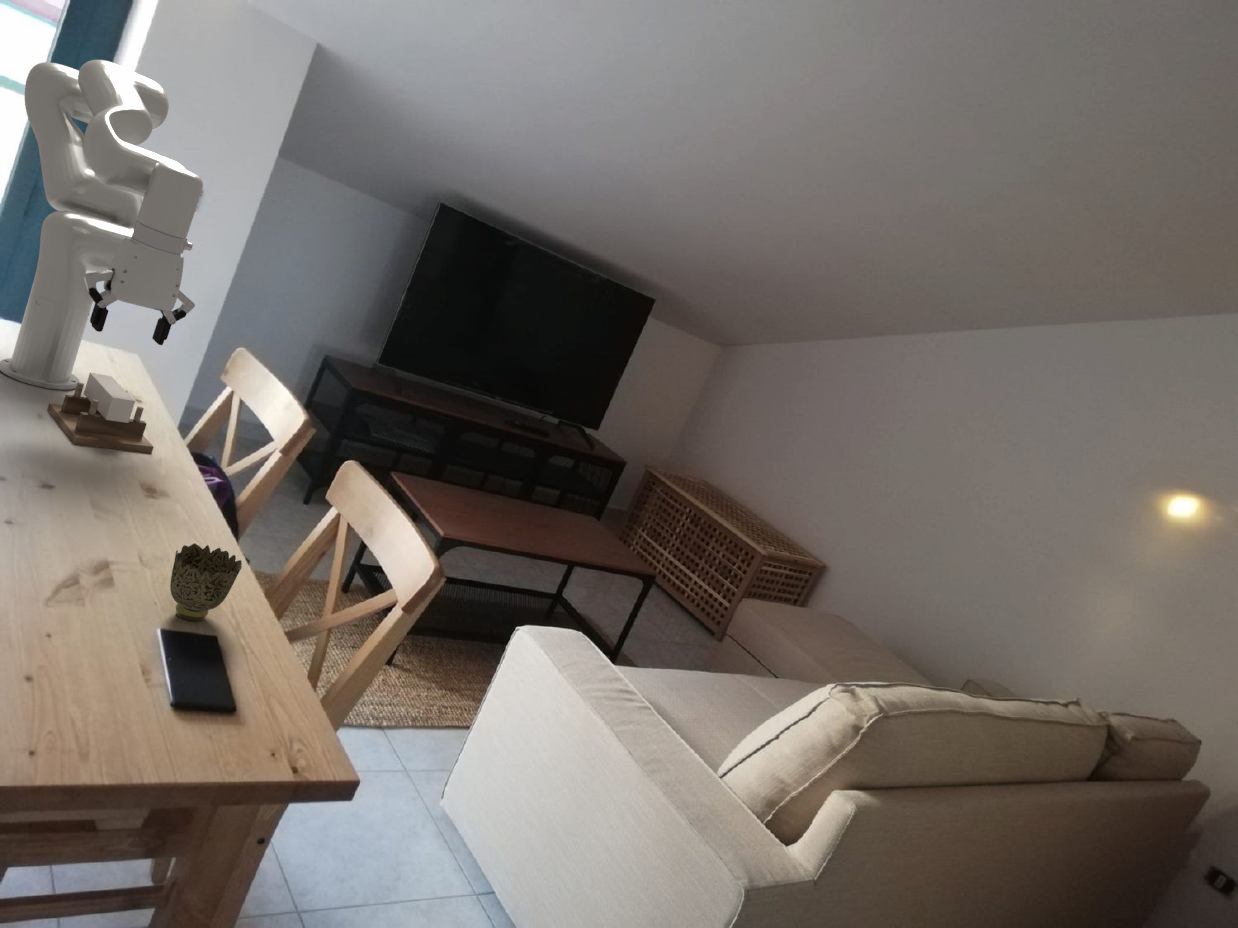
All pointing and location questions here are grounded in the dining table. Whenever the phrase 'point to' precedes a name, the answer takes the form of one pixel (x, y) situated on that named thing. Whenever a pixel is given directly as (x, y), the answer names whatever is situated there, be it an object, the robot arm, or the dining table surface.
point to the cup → (201, 580)
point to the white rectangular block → (109, 397)
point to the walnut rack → (98, 425)
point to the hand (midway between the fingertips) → (127, 335)
